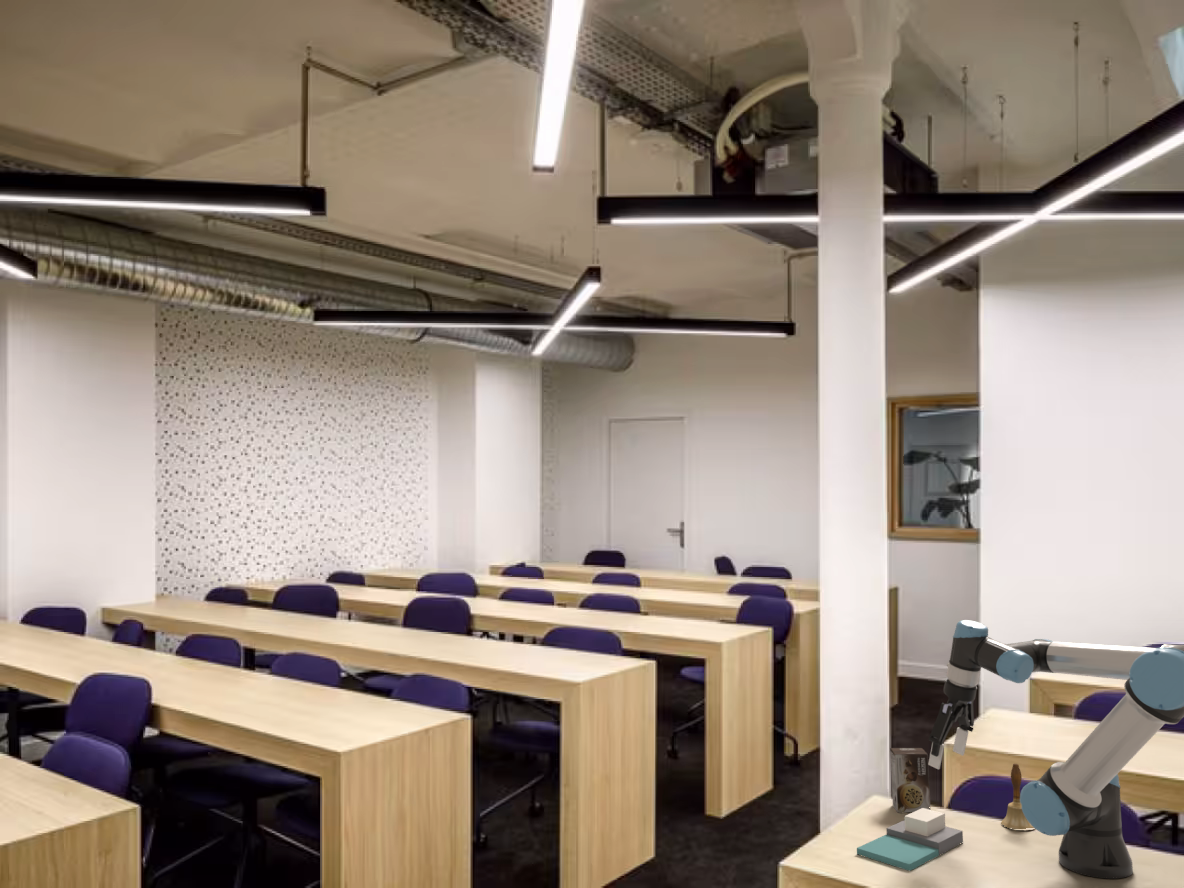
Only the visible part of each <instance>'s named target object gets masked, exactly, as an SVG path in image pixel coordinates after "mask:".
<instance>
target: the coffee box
mask: <svg viewBox="0 0 1184 888" xmlns="http://www.w3.org/2000/svg"><path fill="white" fill-rule="evenodd" d="M889 749H890V751H889V752H890V772H891V791H892V793H891V796H892V799H891V800H892V806H893V808H894V810H895V811H896V812H897V813H898V814H899V813H900V812H901V813H902V812H915V811H917V810H919V809H921V808H925V809H929V810H932V809H931V795H930V794H931V792H930V778H929V777H930V776H929V775H930V772H929V765H928V763H929V759H928V758H929V755H928V753H927V752H926V751H925V749H923V748H922V747H890V748H889ZM929 807H930V808H929ZM901 813H900V814H901Z"/></svg>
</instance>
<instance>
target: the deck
mask: <svg viewBox="0 0 1184 888" xmlns="http://www.w3.org/2000/svg"><path fill="white" fill-rule="evenodd" d="M886 834H887V835H890V836H894V837H897V838H901V839H904V840H907V841H911V842H914V843H918V844H921V845H925V846H928V847H932V848H935V849H938V850H939V856H941V855H943V854H945V853H947V852H949V851H951V850H952V848H953V849H954V847H955V846H956V847H958V846H960V845H961V844H960V843H962V842H963V843H964V831H963V830H961V829H957V828H953V827H950V826H946V825H945V828H944V829H942V830H940V831H938V832H936V833H933V834H931V835H929V836H924V835H920V834H917V833H913V832H910V831H906V830H905V819H904V820H901V821H899V822H897V823H895V824H893V825H890V826H888V827H886ZM963 843H962V844H963ZM959 844H960V845H959ZM957 845H958V846H957ZM956 847H955V848H956ZM950 849H951V850H950ZM948 850H949V851H948ZM946 851H947V852H946ZM942 853H943V854H942ZM940 854H941V855H940Z"/></svg>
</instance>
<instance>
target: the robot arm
mask: <svg viewBox="0 0 1184 888" xmlns="http://www.w3.org/2000/svg"><path fill="white" fill-rule="evenodd" d="M950 651H951V652H950V657H949V660H948V663H946V667H947V672H946V675H945V676H946V678H945V681H944V684H943V685H944V686H943V694H945V696H947V698H948V700H947V702H946V703H944V702H942V703H941V704H940V707H939V711H938V713H937V714H938V715H937V717H936V720H935V722H934V725H933V727H932V729H931V732H930V735H929V737H928V742H929V741H930V742H931V749H930V753H929V757H928V758H929V759H928V766H930V767H933V768H934V769H937V770H940V769H941V765H942V764H941V763H942V759H943V754H944V749H945V744H944V743H945V739H946V738H947V736H948V733H950V729H951V728H952V726H953V724H954V723H956V722H958V723H957V724H958V726H959V727H957V728H956V732H955V737H954V743H953V748H952V752H954V753H956V754H958V755H960V756H965V753H966V752H965V751H966V747H967V741H968V737H969V732H971V733H972V732H973V731H974V726H975V719H974V718H975V717H974V701H975V699H976V696H977V690H978V687H977V685H978V684H979V680H980V675H981V670H982V669H984V670H985V671H988V672H990V673H992V674H993V675H994V674H995V675H997V676H998V677H1000V678H1002V679H1004V680H1006V681H1010V682H1013V683H1015V684H1023V683H1025V682H1026V680H1029V678H1030V677H1031V676H1032V673H1038V672H1039V673H1047V674H1048V673H1049V674H1050V673H1052V674H1063V675H1071V676H1073V675H1074V676H1075V675H1076V676H1082V677H1083V676H1085V677H1093V678H1102V679H1115V680H1122V681H1123V680H1124V681H1125V682H1124V691H1125V695H1123V696H1122V698H1121V699H1120V700H1119V702H1118V703H1117V704H1115V706H1114V707H1113V708H1112V709H1111V711H1110V712H1109V713H1108V714H1106V716H1105V717H1104V718H1103V719H1102V720H1101V721H1100V723H1099V724H1098V725H1096V727H1095V728H1094V730H1092V731H1091V733H1090V734H1088V736H1087V737H1086V738H1085V739H1084V741H1082V743H1080V745H1079V746H1078V747H1077V748H1076V750H1075V751H1074V752H1073V753H1072V754H1071V755H1070V756H1069V757H1068V758H1067V760H1066V761H1065V762H1064V761H1056V762H1054V763H1053V764H1052V765H1050V767H1049V768H1048V769H1047V770H1046V771H1045V772H1044V773H1043V774H1042V775H1041V777H1040V778H1039V779H1037V780H1032V781H1030V782H1027V784H1026V785H1024V786H1023V787H1022V789H1021V790H1020V803H1021V805H1022V811H1023V813H1024V816H1025V817H1026V819H1027V820H1028V822H1029V823H1030V824H1031V825H1032V826H1033V827H1034V828H1035V829H1034V830H1036V831H1037V832H1040V834H1043V835H1047V836H1050V837H1057V836H1062V839H1061V843H1060V845H1059V848H1058V862H1059V864H1060V865H1061V866H1063V868H1065V869H1067V870H1069V871H1072V872H1074V873H1077V874H1079V875H1083V876H1086V877H1087V876H1088V877H1093V878H1097V879H1110V880H1112V879H1113V880H1114V879H1115V880H1116V879H1123V878H1128V877H1130V876H1132V874H1134V873H1133V871H1134V869H1133V868H1134V867H1133V860H1132V857H1131V855H1130V852H1129V850H1128V847H1127V845H1126V843H1125V840H1124V837H1123V828H1122V827H1123V826H1122V806H1121V803H1122V802H1121V785H1120V779H1119V773H1120V772H1121V770H1123V769H1124V767H1125V766H1126V765H1127V764H1128V763H1129V762H1130V761H1131V760H1132V759H1133V758H1134V757H1135V756H1136V755H1137V753H1139V751H1140V750H1141V749H1143V747H1144V746H1145V745H1147V743H1148V742H1149V741H1150V740H1151V739H1152V738H1153V736H1155V735H1156V733H1158V731H1160V729H1161V728H1162V727H1163V726H1164V725H1165V724H1167V725H1176V724H1178V723H1179V722H1180V721H1181V720H1182V719H1184V644H1171V643H1169V644H1167V643H1166V644H1163V645H1161V647H1142V646H1129V645H1115V644H1114V645H1113V644H1112V645H1110V644H1097V643H1081V642H1080V643H1079V642H1067V641H1066V642H1065V641H1052V640H1050V639H1046V638H1035V639H1032V640H1028V641H1020V642H1014V643H1013V642H1012V643H1003V642H1001V641H998V640H995V639H993V638H991V637H989V627H988V626H986V625H985V624H983V623H981V622H979V621H974V620H971V619H969V620H968V619H964V620H963V619H962V620H959V621H958V622H957V623H956V625H955V629H954V633H953V636H952V645H951V649H950Z"/></svg>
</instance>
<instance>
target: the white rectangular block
mask: <svg viewBox="0 0 1184 888" xmlns="http://www.w3.org/2000/svg"><path fill="white" fill-rule="evenodd" d="M904 820H905V830H906V831H910V832H913V833H917V834H920V835H924V836H929V835H931V834H933V833H936V832H938V831H940V830H942V829H944V828H945V826H946V814H945V812H941V811H936V810H933V809H931V810H929V809H925V808H921V809H919V810H917V811H915V812H912V813H908V814H906V815H904Z"/></svg>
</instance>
